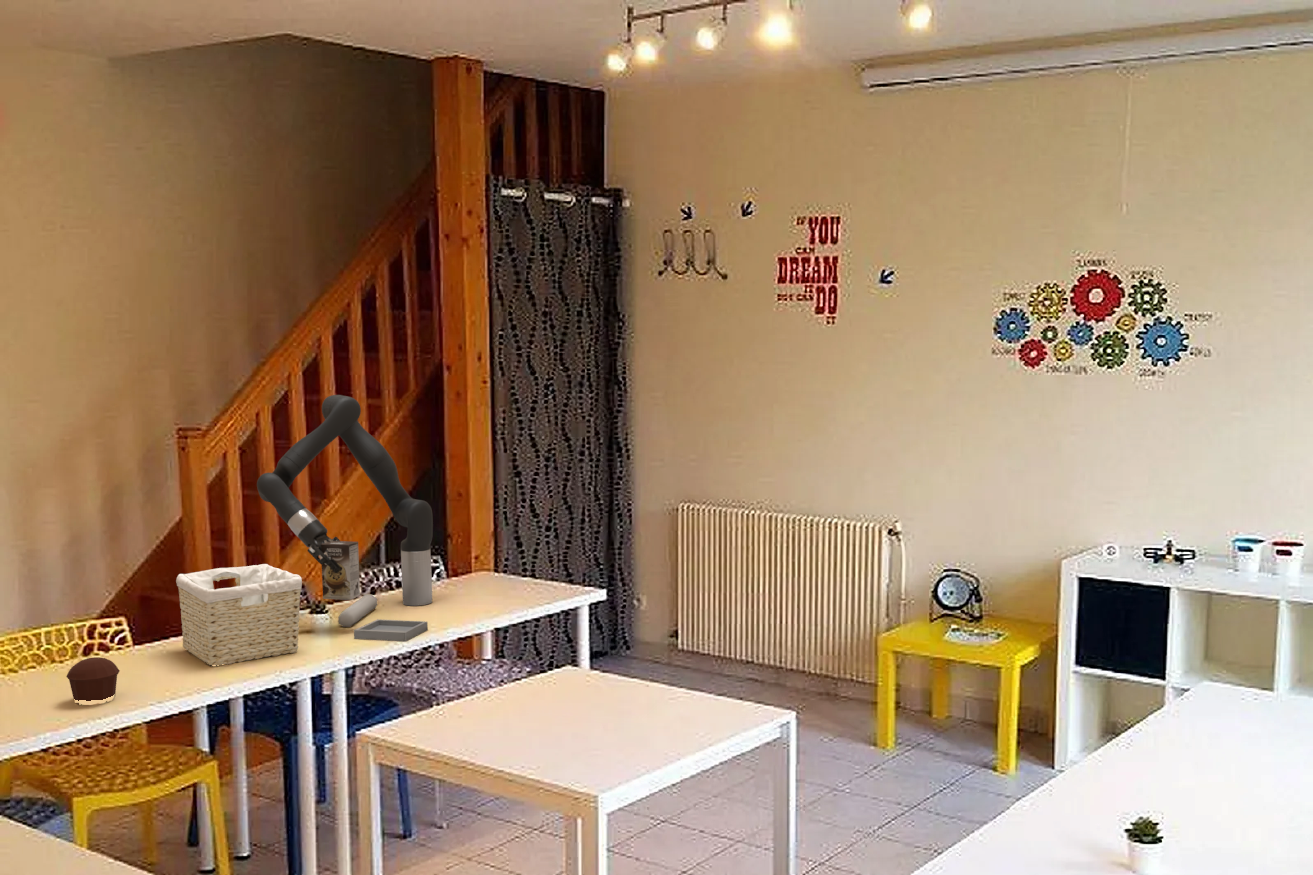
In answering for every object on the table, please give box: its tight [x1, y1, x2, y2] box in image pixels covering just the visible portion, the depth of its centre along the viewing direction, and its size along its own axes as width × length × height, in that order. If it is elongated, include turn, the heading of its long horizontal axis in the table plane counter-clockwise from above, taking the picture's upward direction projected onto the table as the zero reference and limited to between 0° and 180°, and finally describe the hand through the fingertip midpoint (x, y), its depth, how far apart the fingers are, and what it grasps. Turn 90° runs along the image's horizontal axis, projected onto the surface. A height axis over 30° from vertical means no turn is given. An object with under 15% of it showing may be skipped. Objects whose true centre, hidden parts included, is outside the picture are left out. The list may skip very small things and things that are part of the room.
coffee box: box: [321, 540, 361, 601], centre depth 379 cm, size 9×6×16 cm
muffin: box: [65, 656, 121, 701], centre depth 313 cm, size 12×11×10 cm
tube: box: [337, 593, 378, 628], centre depth 397 cm, size 5×5×25 cm
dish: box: [353, 618, 429, 642], centre depth 375 cm, size 14×16×2 cm
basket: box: [175, 563, 303, 666], centre depth 358 cm, size 27×27×22 cm
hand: (345, 568), depth 379 cm, fingers closed on coffee box, 6 cm apart
